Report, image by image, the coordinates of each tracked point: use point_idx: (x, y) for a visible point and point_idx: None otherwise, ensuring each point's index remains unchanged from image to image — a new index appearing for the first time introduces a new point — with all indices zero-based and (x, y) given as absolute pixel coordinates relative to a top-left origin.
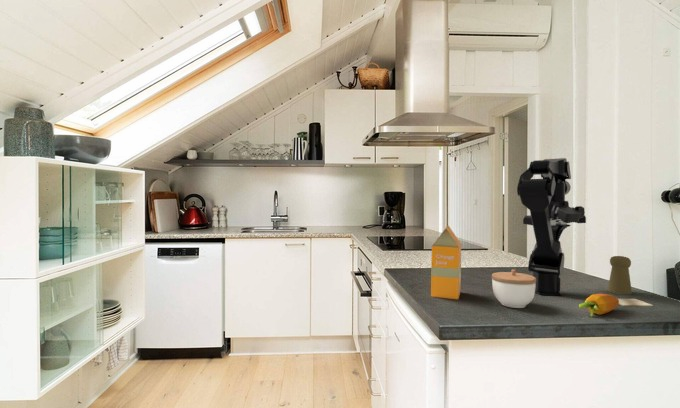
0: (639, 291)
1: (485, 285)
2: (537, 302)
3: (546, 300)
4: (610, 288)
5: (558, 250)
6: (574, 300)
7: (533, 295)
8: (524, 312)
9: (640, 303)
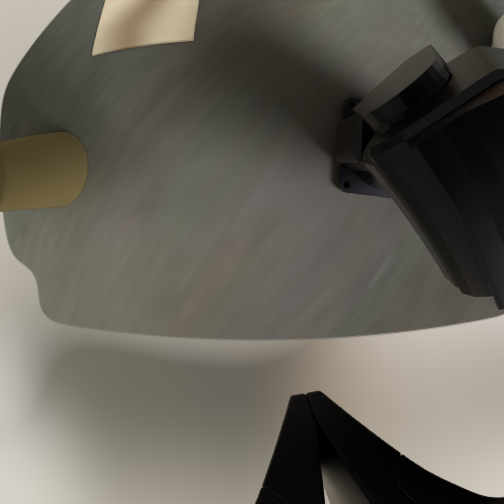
0: None
1: None
2: None
3: None
4: (78, 167)
5: (493, 54)
6: (336, 38)
7: (502, 15)
8: None
9: (127, 2)
